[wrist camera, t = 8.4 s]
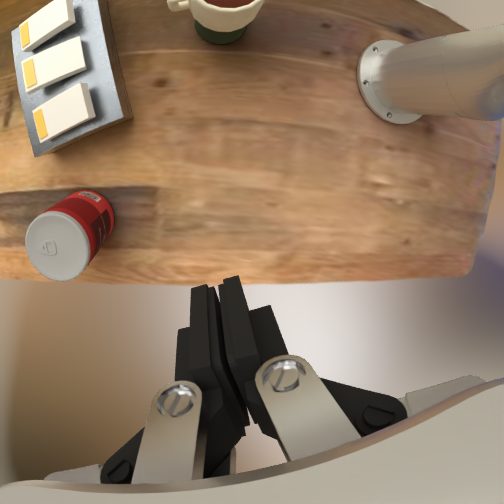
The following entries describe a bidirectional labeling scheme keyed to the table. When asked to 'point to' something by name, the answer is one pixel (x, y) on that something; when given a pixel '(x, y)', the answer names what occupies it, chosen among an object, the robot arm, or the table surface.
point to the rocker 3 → (63, 112)
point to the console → (79, 76)
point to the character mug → (219, 17)
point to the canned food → (69, 235)
